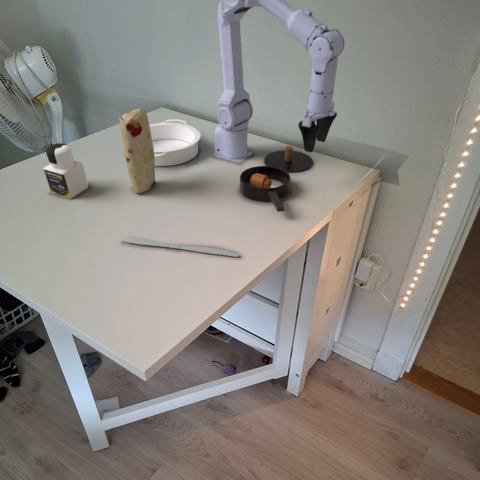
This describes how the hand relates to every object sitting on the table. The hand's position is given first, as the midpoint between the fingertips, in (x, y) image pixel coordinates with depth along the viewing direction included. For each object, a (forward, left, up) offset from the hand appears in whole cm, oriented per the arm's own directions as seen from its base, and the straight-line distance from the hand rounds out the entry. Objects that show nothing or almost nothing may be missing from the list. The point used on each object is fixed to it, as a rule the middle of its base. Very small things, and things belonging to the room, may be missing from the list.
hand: (314, 146), depth 115 cm
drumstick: (-7, -12, -9) cm, 17 cm away
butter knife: (-10, -45, -10) cm, 47 cm away
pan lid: (-10, +6, -9) cm, 15 cm away
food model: (-36, -28, -10) cm, 47 cm away
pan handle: (0, -20, -7) cm, 21 cm away
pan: (-8, -12, -10) cm, 17 cm away
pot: (-46, -7, -10) cm, 48 cm away
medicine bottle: (-52, -40, -10) cm, 67 cm away
